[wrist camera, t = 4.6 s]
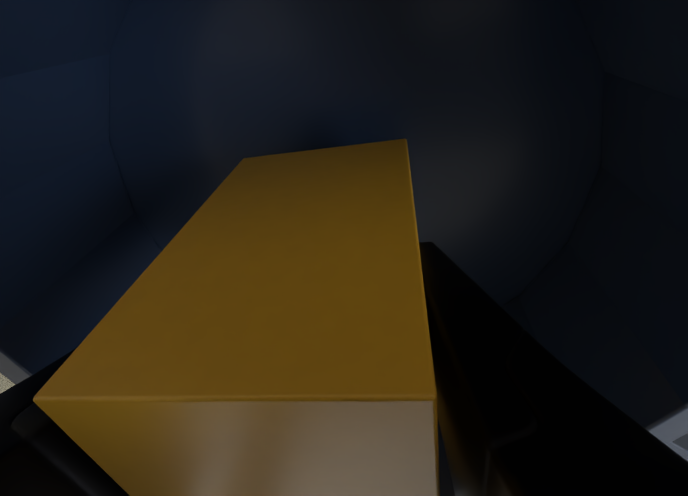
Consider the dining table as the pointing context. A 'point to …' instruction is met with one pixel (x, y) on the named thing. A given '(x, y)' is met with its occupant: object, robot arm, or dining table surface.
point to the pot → (359, 128)
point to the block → (270, 342)
